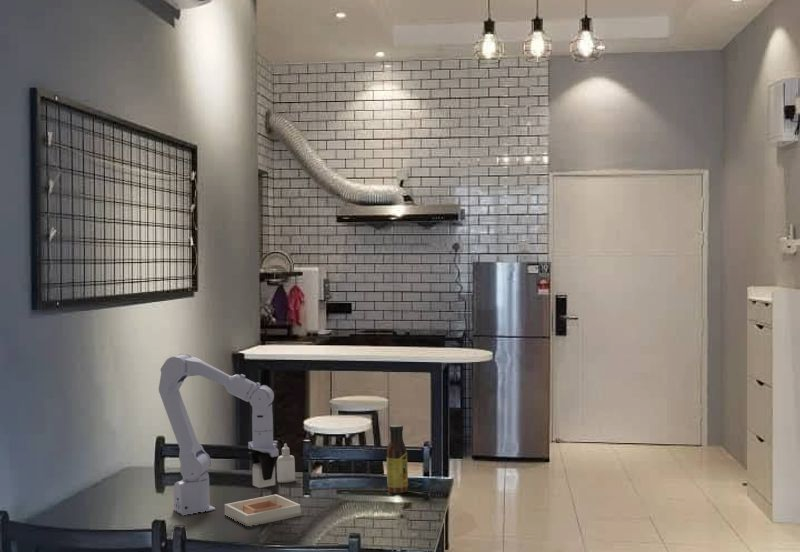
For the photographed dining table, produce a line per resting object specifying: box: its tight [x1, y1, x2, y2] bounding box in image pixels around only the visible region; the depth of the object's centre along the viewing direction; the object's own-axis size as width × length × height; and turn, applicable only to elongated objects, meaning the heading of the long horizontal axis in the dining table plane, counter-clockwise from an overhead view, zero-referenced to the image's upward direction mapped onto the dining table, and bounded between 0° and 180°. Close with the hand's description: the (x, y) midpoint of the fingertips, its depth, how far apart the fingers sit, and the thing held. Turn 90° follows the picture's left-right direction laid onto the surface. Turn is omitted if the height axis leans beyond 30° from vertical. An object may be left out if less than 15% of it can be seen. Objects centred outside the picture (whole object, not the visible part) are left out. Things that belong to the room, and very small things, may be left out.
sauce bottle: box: [386, 424, 409, 495], centre depth 252 cm, size 7×6×20 cm
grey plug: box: [251, 463, 276, 489], centre depth 235 cm, size 5×4×6 cm
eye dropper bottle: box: [276, 443, 296, 484], centre depth 267 cm, size 4×6×12 cm
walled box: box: [224, 494, 302, 527], centre depth 230 cm, size 16×14×3 cm
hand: (263, 478), depth 235 cm, fingers closed on grey plug, 4 cm apart
